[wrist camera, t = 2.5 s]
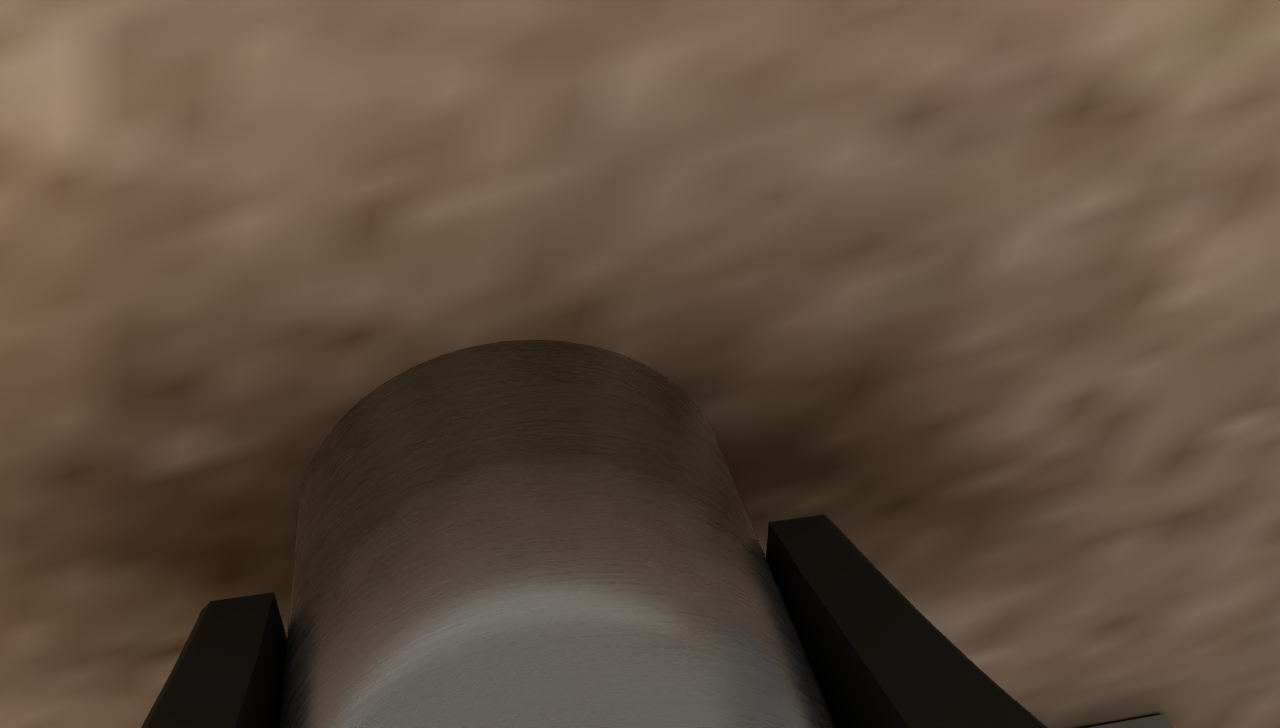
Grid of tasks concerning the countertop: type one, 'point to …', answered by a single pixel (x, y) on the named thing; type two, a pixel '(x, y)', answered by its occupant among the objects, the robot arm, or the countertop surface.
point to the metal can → (534, 559)
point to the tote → (1140, 723)
